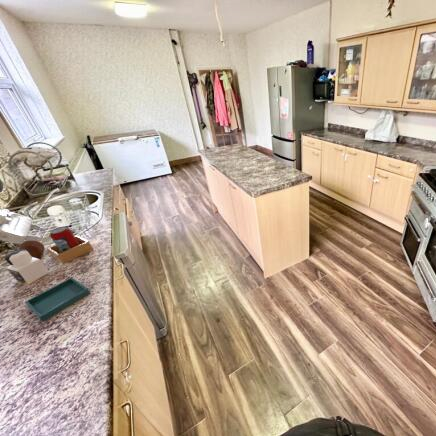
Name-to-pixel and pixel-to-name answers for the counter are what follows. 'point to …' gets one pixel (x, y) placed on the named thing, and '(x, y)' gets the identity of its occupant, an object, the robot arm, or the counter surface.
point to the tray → (57, 298)
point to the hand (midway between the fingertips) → (43, 234)
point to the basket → (71, 250)
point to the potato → (33, 248)
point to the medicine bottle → (25, 266)
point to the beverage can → (63, 238)
